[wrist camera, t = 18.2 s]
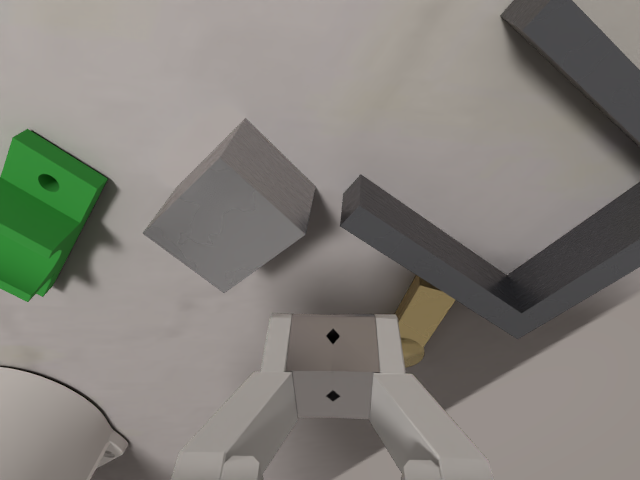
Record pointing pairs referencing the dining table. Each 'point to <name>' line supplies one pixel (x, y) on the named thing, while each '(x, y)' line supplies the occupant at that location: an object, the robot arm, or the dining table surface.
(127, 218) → the dining table surface
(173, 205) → the block
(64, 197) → the pipe clamp
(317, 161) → the dining table surface
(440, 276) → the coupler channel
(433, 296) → the brass key
